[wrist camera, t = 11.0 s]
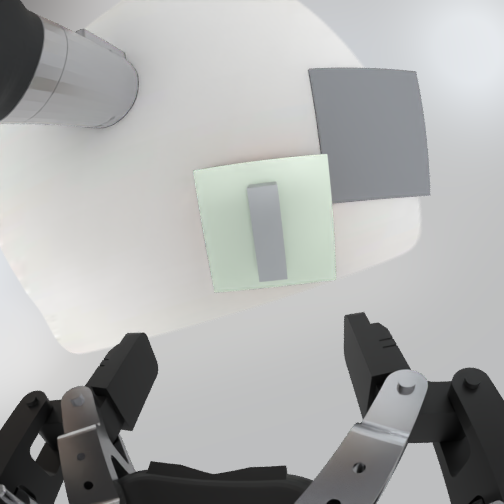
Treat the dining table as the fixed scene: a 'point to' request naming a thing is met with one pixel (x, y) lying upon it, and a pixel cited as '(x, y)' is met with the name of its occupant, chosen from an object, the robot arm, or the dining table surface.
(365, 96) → the mat
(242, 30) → the dining table surface
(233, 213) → the cover sheet
